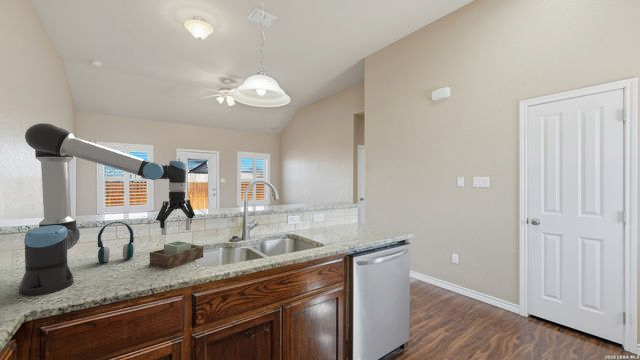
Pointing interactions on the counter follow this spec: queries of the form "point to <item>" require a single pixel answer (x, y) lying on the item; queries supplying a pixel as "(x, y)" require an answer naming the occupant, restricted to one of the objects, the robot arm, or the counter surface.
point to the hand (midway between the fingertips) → (176, 232)
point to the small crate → (176, 247)
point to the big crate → (175, 257)
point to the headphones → (104, 251)
